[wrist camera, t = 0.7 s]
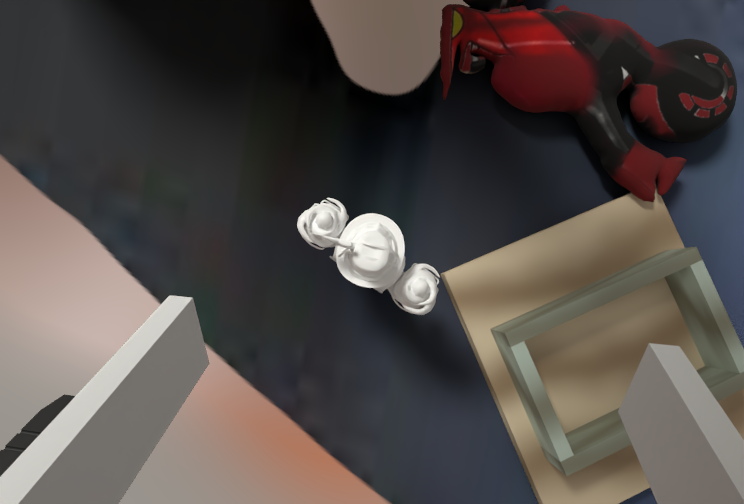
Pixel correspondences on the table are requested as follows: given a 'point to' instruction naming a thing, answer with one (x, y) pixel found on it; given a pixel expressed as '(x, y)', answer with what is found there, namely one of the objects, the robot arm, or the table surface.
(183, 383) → the robot arm
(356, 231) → the hat wearing toy figure
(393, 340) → the table surface
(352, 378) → the table surface
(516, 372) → the jig board
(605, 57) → the toy motorcycle
